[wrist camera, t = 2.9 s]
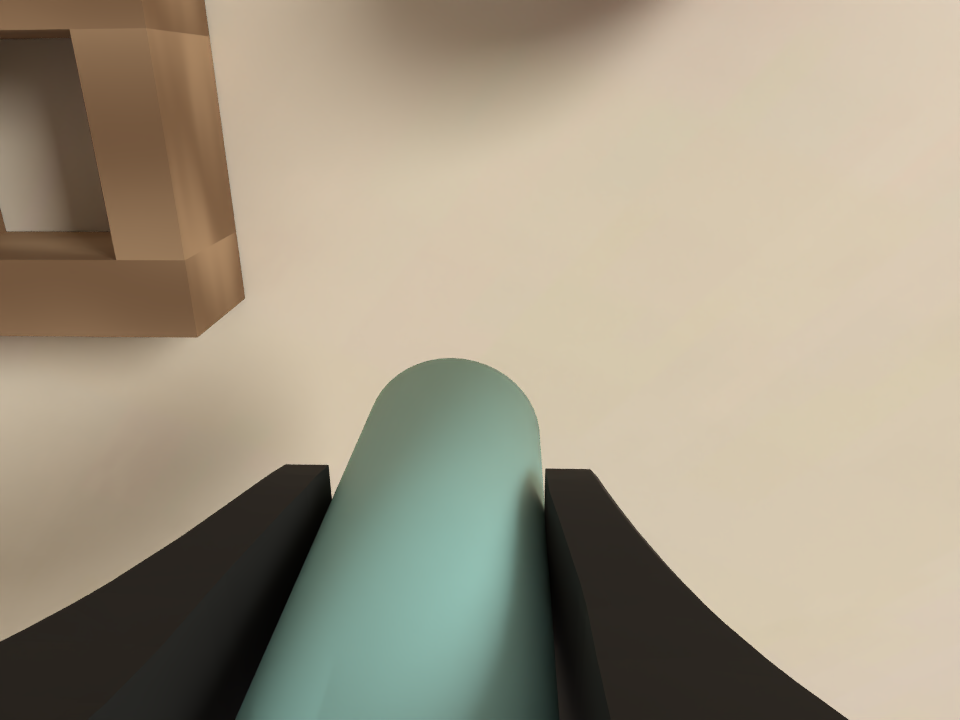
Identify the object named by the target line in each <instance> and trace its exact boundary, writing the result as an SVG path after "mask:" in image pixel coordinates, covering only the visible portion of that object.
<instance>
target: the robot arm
mask: <svg viewBox="0 0 960 720" xmlns="http://www.w3.org/2000/svg"><path fill="white" fill-rule="evenodd" d="M331 501H332V496H331V486H330V476H329V466H328V465H290V464H286V465H284V466H282V467H281V468H279V469H277V470H276V471H274V472H272V473H271V474H269V475H268V476H267V477H265V478H264V479H262V480H261V481H259V482H258V483H256V484H255V485H254V486H252V487H251V488H249V489H248V490H247V491H245V492H244V493H242V494H241V495H240V496H238V497H237V498H235V499H234V500H233V501H231V502H230V503H228V504H227V505H226V506H224V507H223V508H221V509H220V510H218V511H217V512H216V513H214V514H213V515H211V516H210V517H208V518H207V519H206V520H204V521H203V522H201V523H200V524H198V525H197V526H196V527H194V528H193V529H191V530H190V531H188V532H187V533H186V534H184V535H183V536H181V537H180V538H178V539H177V540H175V541H174V542H172V543H170V544H169V545H167V546H166V547H164V548H163V549H161V550H160V551H158V552H156V553H155V554H153V555H152V556H150V557H149V558H147V559H145V560H144V561H142V562H141V563H139V564H138V565H136V566H135V567H133V568H131V569H130V570H128V571H127V572H125V573H124V574H122V575H120V576H119V577H117V578H116V579H114V580H113V581H111V582H109V583H108V584H106V585H104V586H103V587H101V588H99V589H98V590H96V591H94V592H92V593H91V594H89V595H87V596H85V597H84V598H82V599H80V600H78V601H77V602H75V603H73V604H71V605H70V606H68V607H66V608H64V609H62V610H60V611H58V612H56V613H55V614H53V615H51V616H49V617H47V618H45V619H43V620H41V621H40V622H38V623H36V624H34V625H32V626H30V627H28V628H26V629H25V630H23V631H21V632H19V633H17V634H15V635H13V636H11V637H9V638H7V639H5V640H3V641H1V642H0V720H235V719H236V716H237V714H238V712H239V710H240V707H241V705H242V703H243V701H244V698H245V696H246V694H247V692H248V689H249V687H250V685H251V682H252V680H253V678H254V676H255V673H256V671H257V669H258V667H259V664H260V662H261V660H262V657H263V655H264V653H265V651H266V648H267V646H268V644H269V642H270V639H271V637H272V635H273V632H274V630H275V628H276V626H277V623H278V621H279V619H280V617H281V614H282V612H283V610H284V607H285V605H286V603H287V601H288V598H289V596H290V594H291V592H292V589H293V587H294V585H295V582H296V580H297V578H298V576H299V573H300V571H301V569H302V567H303V564H304V562H305V560H306V558H307V555H308V553H309V551H310V548H311V546H312V544H313V542H314V539H315V537H316V535H317V533H318V530H319V528H320V526H321V523H322V521H323V519H324V517H325V514H326V512H327V510H328V508H329V505H330V503H331ZM544 514H545V529H546V544H547V557H548V566H549V577H550V592H551V606H552V621H553V635H554V649H555V664H556V678H557V692H558V707H559V720H848V719H847V718H846V717H844V716H843V715H841V714H840V713H839V712H837V711H836V710H834V709H833V708H832V707H830V706H829V705H828V704H826V703H825V702H823V701H822V700H821V699H819V698H818V697H817V696H815V695H814V694H812V693H811V692H810V691H808V690H807V689H805V688H804V687H803V686H801V685H800V684H799V683H797V682H796V681H794V680H793V679H792V678H791V677H789V676H788V675H787V674H785V673H784V672H783V671H782V670H780V669H779V668H778V667H776V666H775V665H774V664H773V663H771V662H770V661H769V660H768V659H766V658H765V657H764V656H763V655H762V654H760V653H759V652H758V651H757V650H756V649H754V648H753V647H752V646H751V645H750V644H749V643H747V642H746V641H745V640H744V639H743V638H742V637H740V636H739V635H738V634H737V633H736V632H735V631H733V630H732V629H731V628H730V627H729V626H727V625H726V624H725V623H724V622H723V621H722V620H721V619H720V618H718V617H717V616H716V615H715V614H714V613H713V612H712V611H711V610H710V609H709V608H708V607H707V606H706V605H705V604H704V603H703V602H702V601H701V600H700V599H699V598H698V597H697V596H696V595H695V594H694V593H693V592H692V591H691V590H690V589H689V588H688V587H687V586H686V585H685V584H684V583H683V582H682V581H681V580H680V579H679V578H678V577H677V575H676V574H675V573H674V572H673V571H672V570H671V569H670V568H669V567H668V566H667V565H666V563H665V562H664V561H663V560H662V559H661V558H660V557H659V555H658V554H657V553H656V552H655V551H654V550H653V548H652V547H651V546H650V545H649V544H648V543H647V541H646V540H645V539H644V538H643V537H642V536H641V534H640V533H639V532H638V531H637V530H636V528H635V527H634V526H633V525H632V523H631V522H630V521H629V520H628V518H627V517H626V516H625V514H624V513H623V512H622V510H621V509H620V508H619V507H618V505H617V504H616V503H615V501H614V500H613V499H612V497H611V496H610V494H609V493H608V492H607V490H606V489H605V487H604V486H603V484H602V483H601V482H600V480H599V479H598V477H597V476H596V475H595V474H594V473H593V472H592V471H591V470H590V469H545V503H544Z"/></svg>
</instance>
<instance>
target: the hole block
mask: <svg viewBox="0 0 960 720" xmlns="http://www.w3.org/2000/svg"><path fill="white" fill-rule="evenodd" d="M39 38H71V39H72V44H73V49H74V54H75V59H76V64H77V69H78V74H79V78H80V83H81V88H82V93H83V98H84V103H85V108H86V113H87V118H88V123H89V128H90V133H91V138H92V143H93V148H94V153H95V158H96V163H97V167H98V172H99V177H100V182H101V187H102V192H103V197H104V202H105V207H106V212H107V217H108V222H109V227H110V232H6V229H5V225H4V222H3V218H2V214H1V210H0V336H89V337H199V336H200V335H201V334H202V333H203V332H205V331H206V330H207V329H208V328H209V327H211V326H212V325H213V324H214V323H216V322H217V321H218V320H219V319H220V318H222V317H223V316H224V315H225V314H226V313H228V312H229V311H230V310H231V309H233V308H234V307H235V306H236V305H237V304H239V303H240V302H241V301H242V300H244V299H245V295H244V287H243V280H242V273H241V265H240V258H239V251H238V243H237V236H236V229H235V221H234V214H233V207H232V199H231V192H230V185H229V178H228V170H227V163H226V156H225V148H224V141H223V134H222V126H221V119H220V112H219V104H218V97H217V90H216V82H215V75H214V68H213V60H212V53H211V46H210V38H209V31H208V24H207V16H206V9H205V2H204V0H0V39H39Z"/></svg>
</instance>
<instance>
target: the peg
mask: <svg viewBox="0 0 960 720" xmlns="http://www.w3.org/2000/svg"><path fill="white" fill-rule="evenodd" d="M235 720H559V707H558V692H557V678H556V664H555V649H554V635H553V621H552V606H551V592H550V577H549V566H548V557H547V544H546V529H545V514H544V491H543V477H542V462H541V448H540V434H539V426H538V421H537V417H536V415H535V412H534V409H533V407H532V405H531V403H530V401H529V400H528V398H527V397H526V395H525V394H524V393H523V391H522V390H521V389H520V388H519V387H518V386H517V385H516V384H515V383H514V382H513V381H512V380H511V379H509V378H508V377H507V376H506V375H504V374H502V373H501V372H499V371H498V370H496V369H494V368H492V367H489V366H487V365H485V364H482V363H479V362H476V361H471V360H466V359H456V358H445V359H436V360H430V361H426V362H423V363H420V364H417V365H415V366H413V367H410V368H408V369H406V370H405V371H403V372H402V373H400V374H398V375H397V376H396V377H395V378H394V379H392V380H391V381H390V382H389V383H388V384H387V385H386V386H385V388H384V389H383V390H382V391H381V393H380V394H379V396H378V397H377V399H376V401H375V403H374V405H373V408H372V410H371V412H370V414H369V417H368V419H367V421H366V424H365V426H364V428H363V430H362V433H361V435H360V437H359V439H358V442H357V444H356V446H355V448H354V451H353V453H352V455H351V458H350V460H349V462H348V464H347V467H346V469H345V471H344V473H343V476H342V478H341V480H340V483H339V485H338V487H337V489H336V492H335V494H334V496H333V498H332V501H331V503H330V505H329V508H328V510H327V512H326V514H325V517H324V519H323V521H322V523H321V526H320V528H319V530H318V533H317V535H316V537H315V539H314V542H313V544H312V546H311V548H310V551H309V553H308V555H307V558H306V560H305V562H304V564H303V567H302V569H301V571H300V573H299V576H298V578H297V580H296V582H295V585H294V587H293V589H292V592H291V594H290V596H289V598H288V601H287V603H286V605H285V607H284V610H283V612H282V614H281V617H280V619H279V621H278V623H277V626H276V628H275V630H274V632H273V635H272V637H271V639H270V642H269V644H268V646H267V648H266V651H265V653H264V655H263V657H262V660H261V662H260V664H259V667H258V669H257V671H256V673H255V676H254V678H253V680H252V682H251V685H250V687H249V689H248V692H247V694H246V696H245V698H244V701H243V703H242V705H241V707H240V710H239V712H238V714H237V716H236V719H235Z"/></svg>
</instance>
